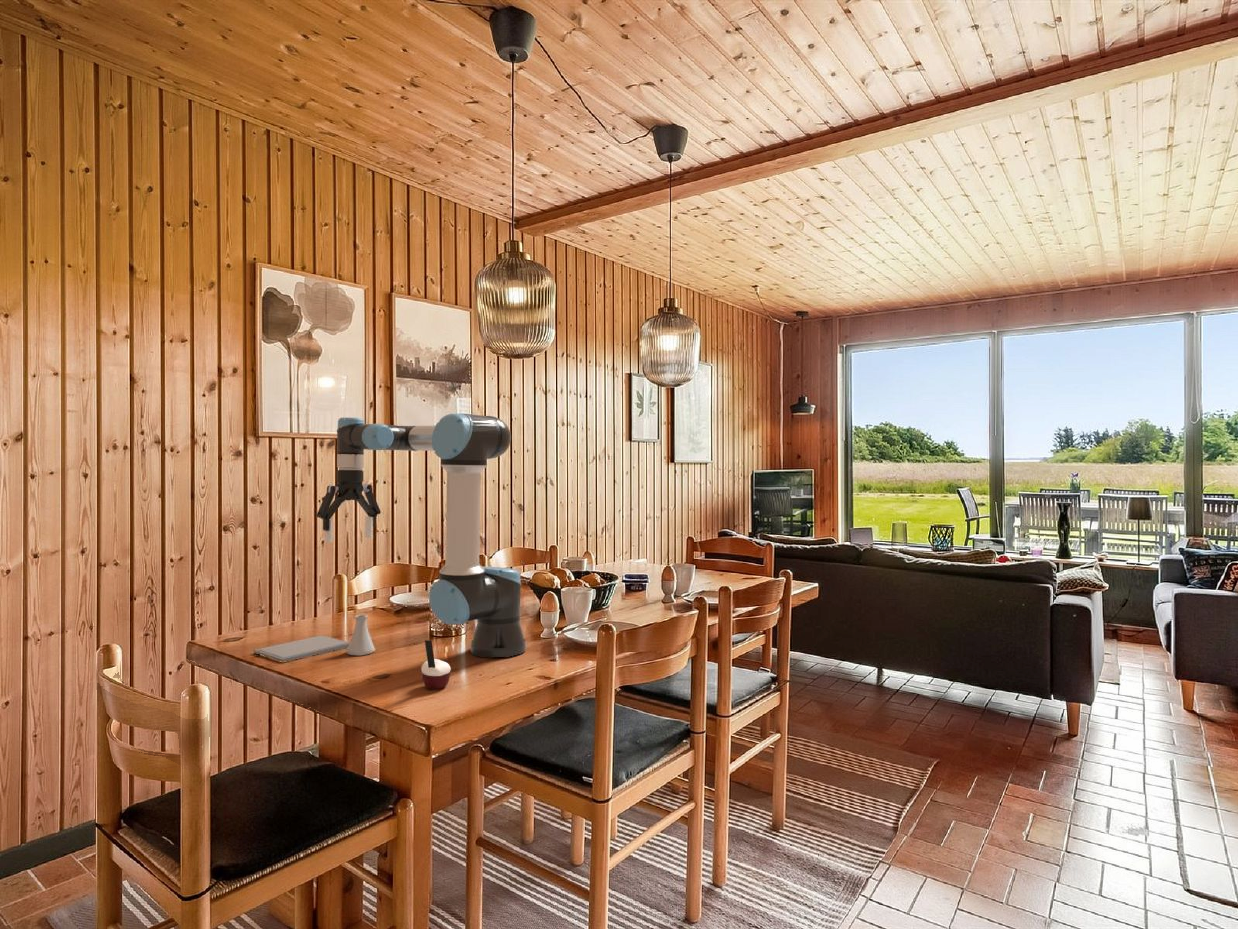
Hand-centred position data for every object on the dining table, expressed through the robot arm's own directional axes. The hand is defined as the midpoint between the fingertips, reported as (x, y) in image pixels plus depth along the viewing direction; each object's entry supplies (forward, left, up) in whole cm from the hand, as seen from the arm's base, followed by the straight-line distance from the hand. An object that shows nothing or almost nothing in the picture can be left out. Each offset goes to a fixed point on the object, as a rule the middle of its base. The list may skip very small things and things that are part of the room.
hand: (349, 540), depth 211 cm
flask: (-21, +11, -28) cm, 37 cm away
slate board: (-7, +19, -28) cm, 34 cm away
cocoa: (-59, +18, -28) cm, 68 cm away
